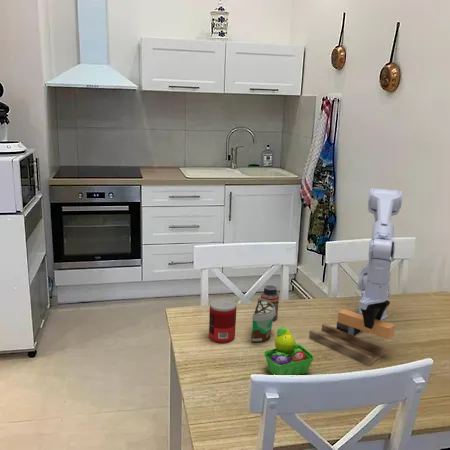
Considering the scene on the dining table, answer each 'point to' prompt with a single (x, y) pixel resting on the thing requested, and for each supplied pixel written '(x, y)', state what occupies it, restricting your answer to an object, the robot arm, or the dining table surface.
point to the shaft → (358, 322)
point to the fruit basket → (287, 355)
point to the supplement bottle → (271, 297)
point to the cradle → (347, 344)
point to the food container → (262, 321)
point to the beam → (348, 328)
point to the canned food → (222, 320)
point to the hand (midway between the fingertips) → (371, 325)
